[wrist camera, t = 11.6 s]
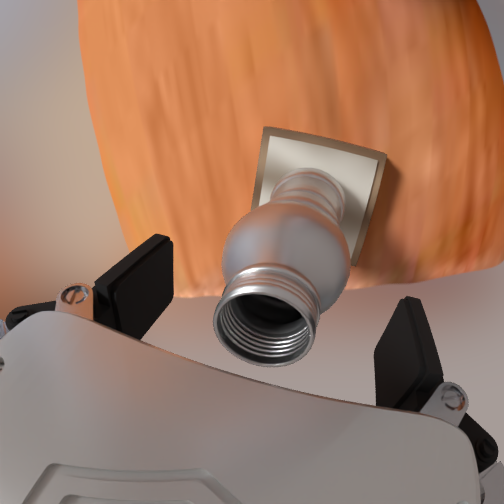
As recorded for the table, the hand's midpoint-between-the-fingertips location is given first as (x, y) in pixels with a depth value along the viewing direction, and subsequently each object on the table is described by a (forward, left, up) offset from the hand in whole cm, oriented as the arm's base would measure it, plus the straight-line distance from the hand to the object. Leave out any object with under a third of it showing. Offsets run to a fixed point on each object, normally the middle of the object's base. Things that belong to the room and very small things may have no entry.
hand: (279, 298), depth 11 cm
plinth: (+1, 0, -22) cm, 22 cm away
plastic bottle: (0, 0, -19) cm, 19 cm away
